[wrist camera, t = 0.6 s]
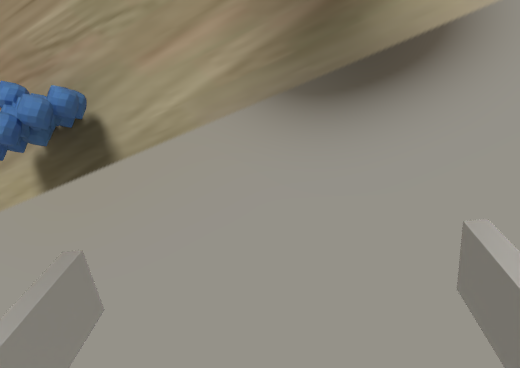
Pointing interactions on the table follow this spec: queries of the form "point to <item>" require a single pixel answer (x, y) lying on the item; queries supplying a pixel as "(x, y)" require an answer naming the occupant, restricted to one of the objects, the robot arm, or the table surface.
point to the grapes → (35, 115)
